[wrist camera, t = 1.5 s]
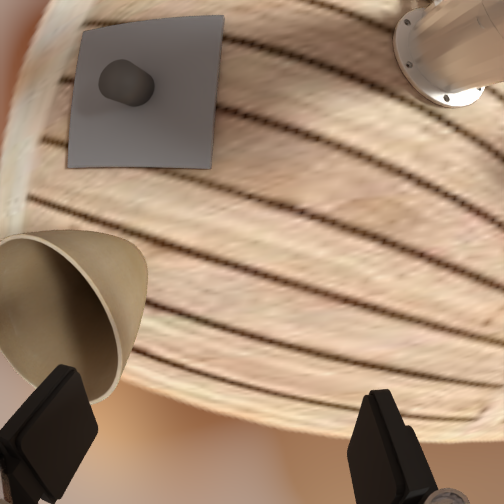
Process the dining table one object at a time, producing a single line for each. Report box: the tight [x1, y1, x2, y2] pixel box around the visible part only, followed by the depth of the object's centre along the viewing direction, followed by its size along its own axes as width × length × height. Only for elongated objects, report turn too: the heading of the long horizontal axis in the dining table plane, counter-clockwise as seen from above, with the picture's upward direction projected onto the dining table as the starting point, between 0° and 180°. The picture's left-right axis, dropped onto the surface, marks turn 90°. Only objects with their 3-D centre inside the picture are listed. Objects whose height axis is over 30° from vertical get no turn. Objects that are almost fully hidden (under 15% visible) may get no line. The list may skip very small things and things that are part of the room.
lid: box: [68, 15, 225, 169], centre depth 28 cm, size 17×17×6 cm
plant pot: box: [0, 230, 148, 405], centre depth 28 cm, size 15×15×16 cm
